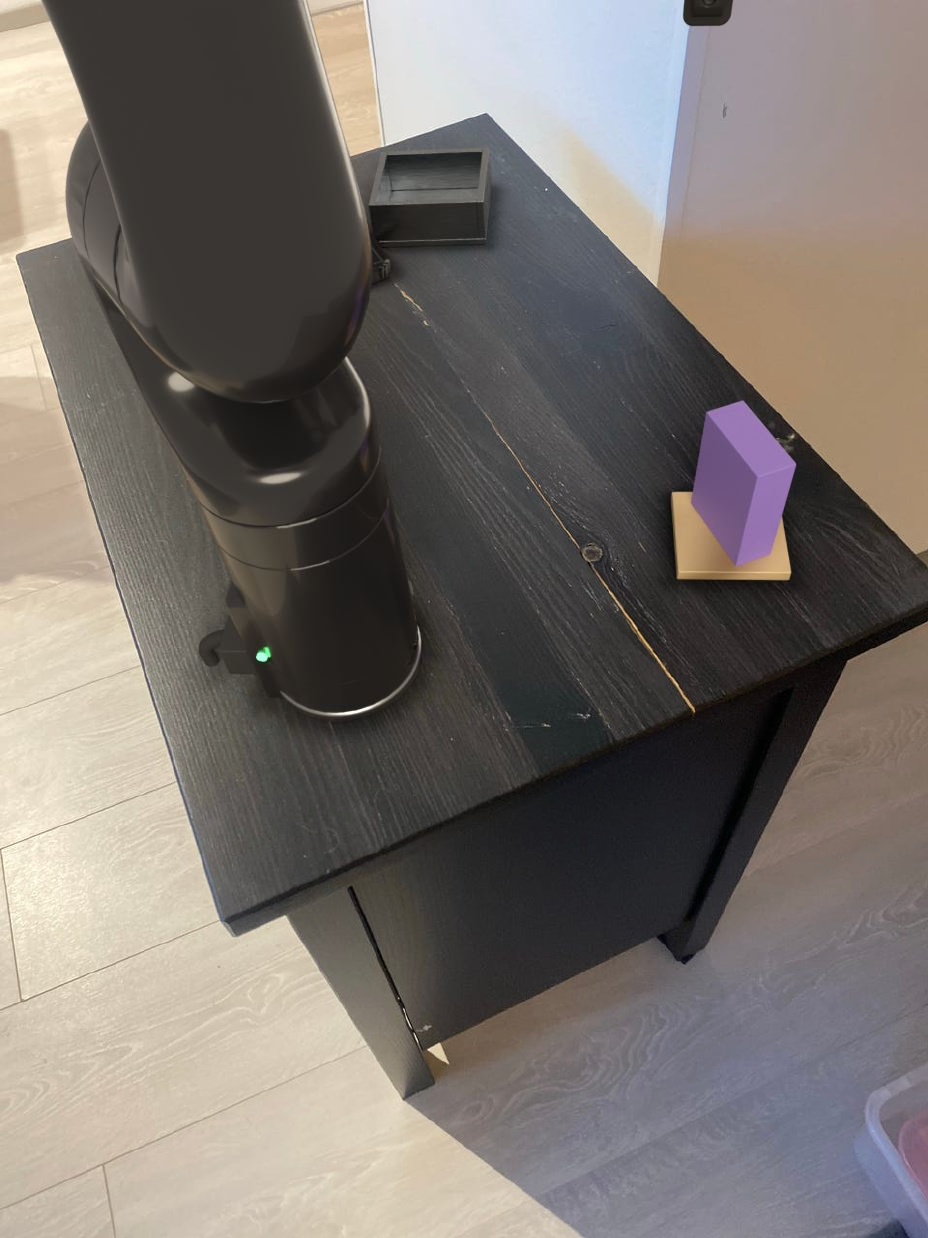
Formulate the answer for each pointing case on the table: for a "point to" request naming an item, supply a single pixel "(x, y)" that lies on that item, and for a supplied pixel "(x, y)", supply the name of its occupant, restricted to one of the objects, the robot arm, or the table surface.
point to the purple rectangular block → (741, 482)
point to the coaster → (718, 549)
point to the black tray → (431, 197)
